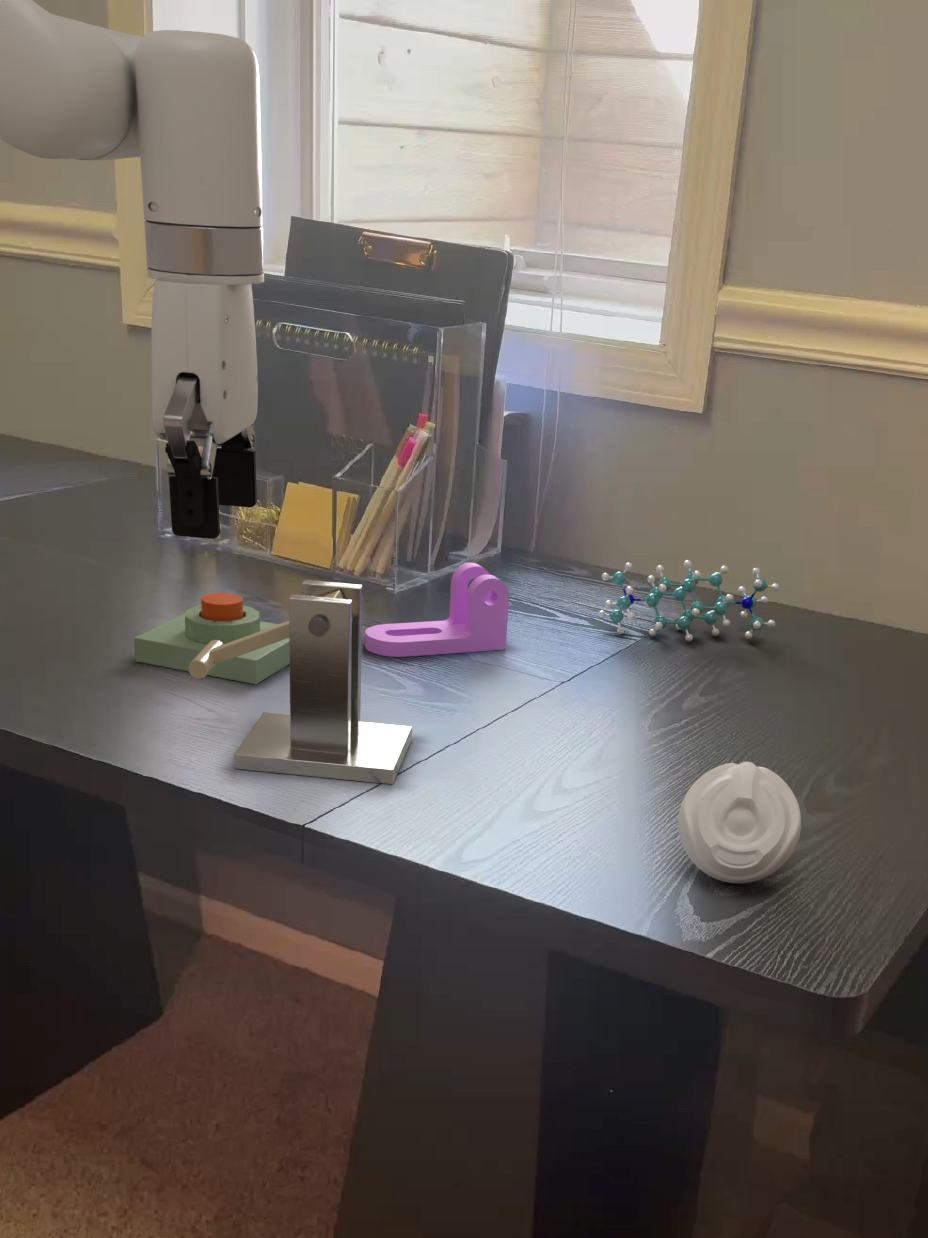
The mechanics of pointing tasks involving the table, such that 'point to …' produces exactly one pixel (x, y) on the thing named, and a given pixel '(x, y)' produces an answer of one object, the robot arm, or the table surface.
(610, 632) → the table surface
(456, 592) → the bracket
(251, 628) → the button box
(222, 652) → the lever
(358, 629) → the bracket
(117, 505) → the table surface
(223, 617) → the button
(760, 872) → the motion sensor
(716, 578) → the molecule model
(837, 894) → the table surface
